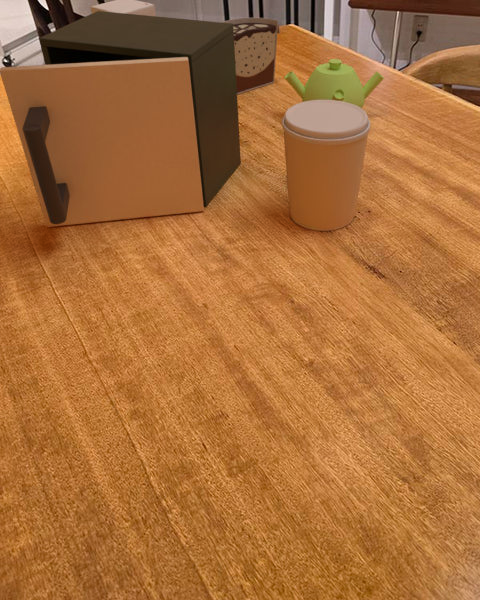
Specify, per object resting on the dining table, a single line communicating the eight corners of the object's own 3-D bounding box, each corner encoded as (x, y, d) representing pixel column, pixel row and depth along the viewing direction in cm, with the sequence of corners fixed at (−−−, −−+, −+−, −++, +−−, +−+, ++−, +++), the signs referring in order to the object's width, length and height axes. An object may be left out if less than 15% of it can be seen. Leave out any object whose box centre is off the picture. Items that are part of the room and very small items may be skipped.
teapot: (329, 96, 98) (332, 43, 93) (384, 116, 92) (390, 61, 87) (282, 115, 92) (281, 59, 87) (337, 137, 86) (340, 79, 81)
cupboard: (206, 207, 70) (191, 54, 59) (75, 185, 74) (38, 38, 63) (241, 163, 79) (233, 23, 68) (123, 146, 83) (97, 10, 72)
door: (209, 238, 65) (193, 79, 54) (41, 256, 62) (-12, 92, 51) (203, 207, 70) (187, 56, 59) (47, 222, 67) (0, 67, 56)
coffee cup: (372, 204, 71) (383, 107, 64) (344, 243, 65) (352, 140, 57) (302, 187, 74) (304, 93, 67) (268, 223, 68) (266, 122, 60)
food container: (257, 72, 107) (255, 12, 101) (280, 80, 104) (280, 20, 98) (203, 88, 101) (197, 25, 94) (225, 98, 97) (221, 34, 91)
